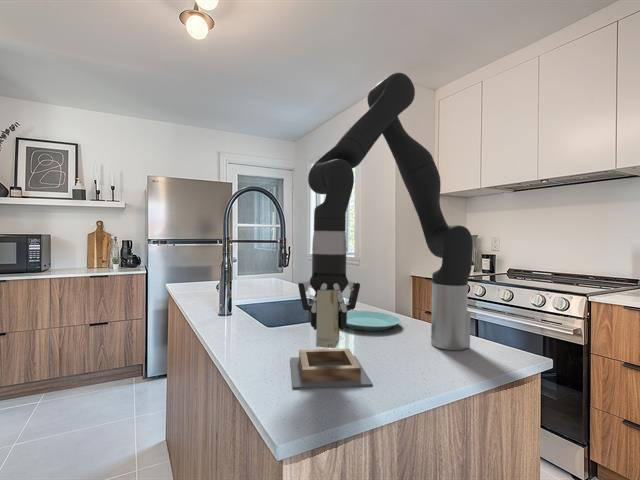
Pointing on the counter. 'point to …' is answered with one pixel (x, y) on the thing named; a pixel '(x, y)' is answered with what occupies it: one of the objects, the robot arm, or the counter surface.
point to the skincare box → (327, 319)
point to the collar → (328, 372)
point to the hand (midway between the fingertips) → (328, 328)
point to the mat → (299, 384)
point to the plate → (371, 320)
